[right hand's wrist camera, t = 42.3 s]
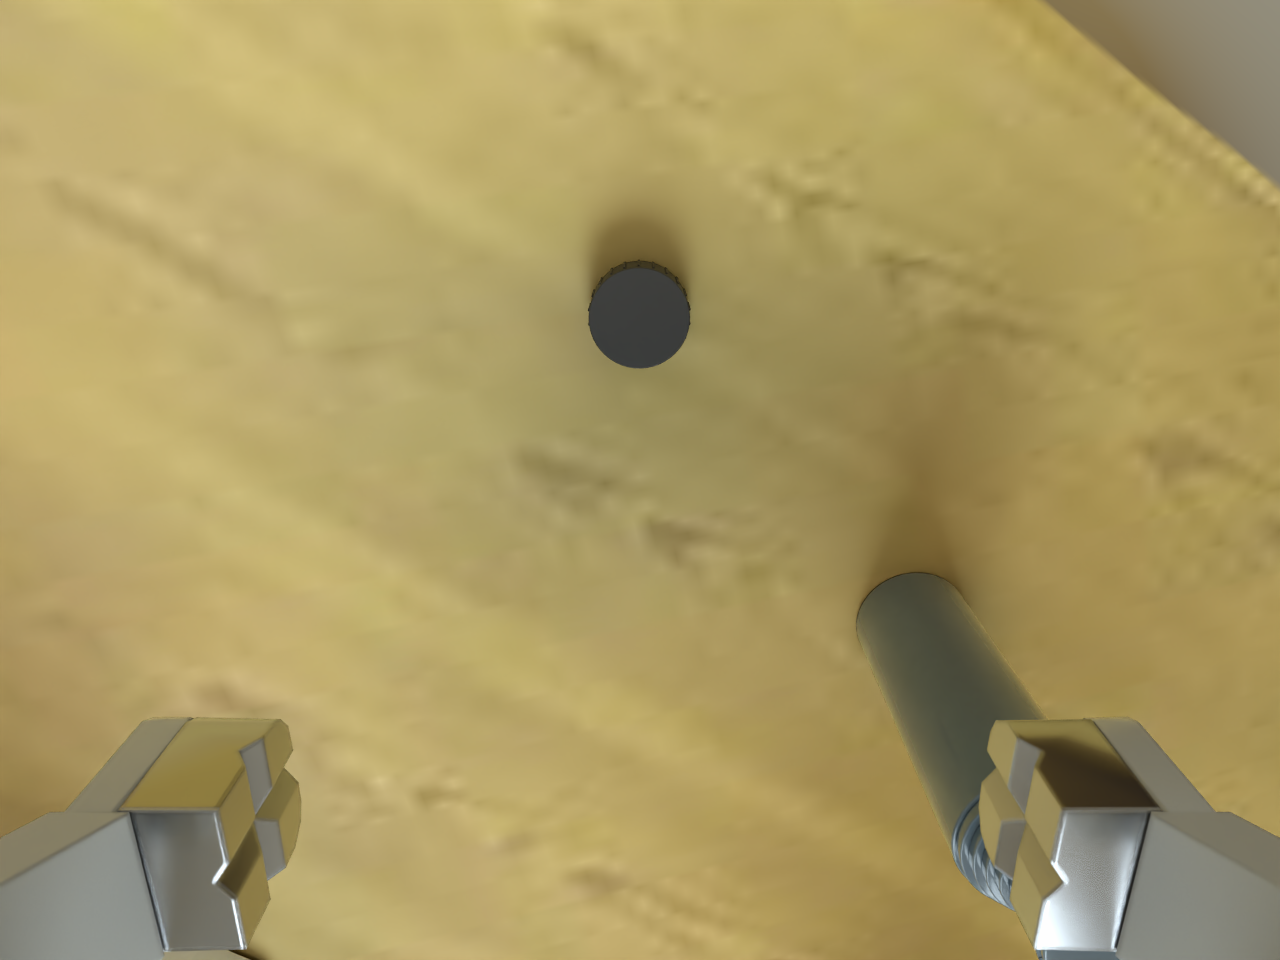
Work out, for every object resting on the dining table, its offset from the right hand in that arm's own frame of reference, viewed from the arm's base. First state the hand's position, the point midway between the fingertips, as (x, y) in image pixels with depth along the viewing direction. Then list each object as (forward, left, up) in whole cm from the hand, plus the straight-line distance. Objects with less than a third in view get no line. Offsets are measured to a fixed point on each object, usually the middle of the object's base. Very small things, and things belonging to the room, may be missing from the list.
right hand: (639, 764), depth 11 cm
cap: (0, 0, -28) cm, 28 cm away
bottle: (-15, -13, -30) cm, 36 cm away
